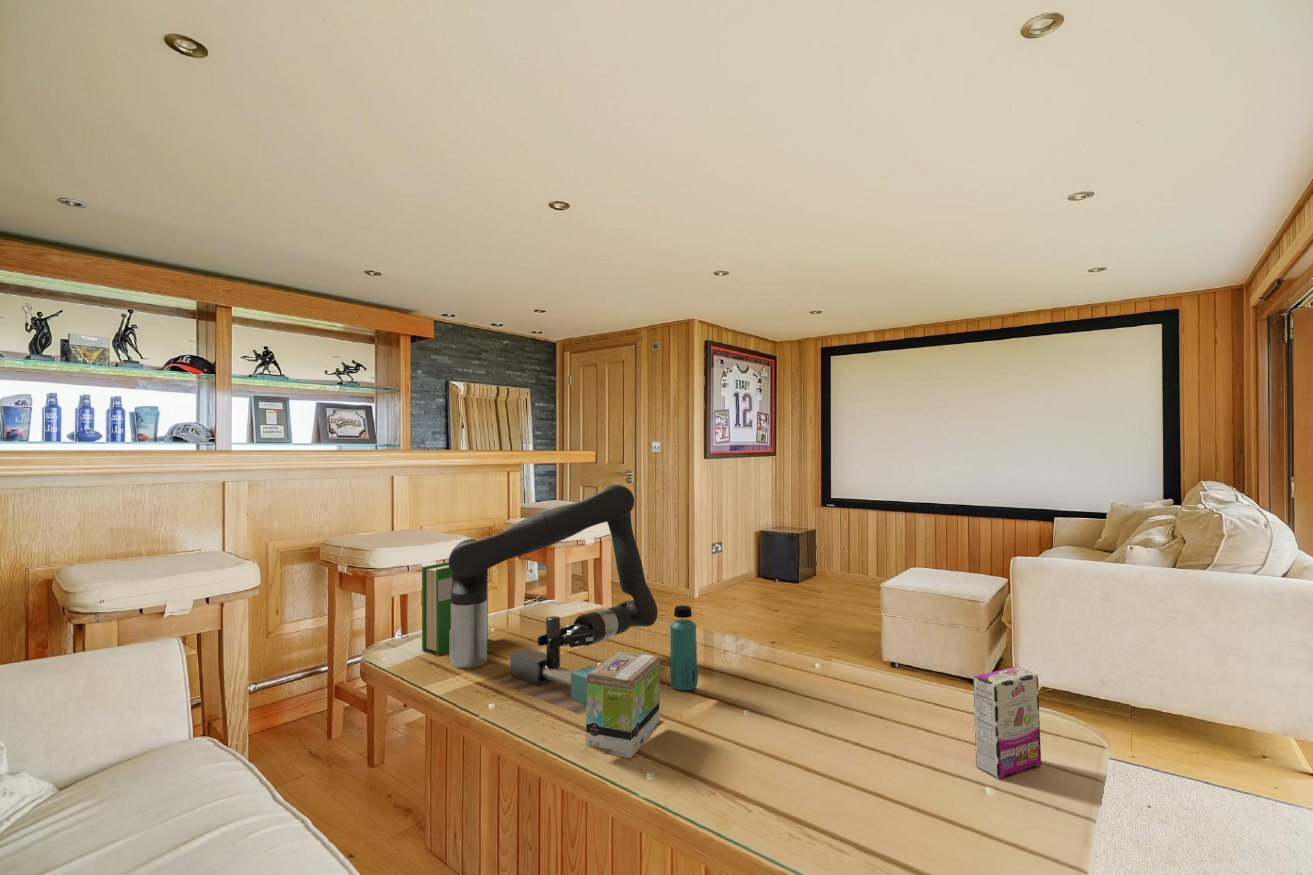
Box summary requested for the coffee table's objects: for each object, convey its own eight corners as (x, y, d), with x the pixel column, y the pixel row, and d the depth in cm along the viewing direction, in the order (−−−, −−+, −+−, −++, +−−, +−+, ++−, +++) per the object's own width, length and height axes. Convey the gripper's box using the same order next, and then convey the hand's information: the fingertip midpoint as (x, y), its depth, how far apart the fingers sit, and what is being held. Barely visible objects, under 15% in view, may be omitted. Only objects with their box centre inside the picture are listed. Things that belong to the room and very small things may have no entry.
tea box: (633, 760, 115) (632, 679, 115) (584, 751, 118) (584, 673, 118) (661, 726, 129) (660, 654, 129) (616, 719, 132) (616, 649, 132)
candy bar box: (1016, 754, 116) (1014, 665, 116) (1042, 766, 111) (1040, 674, 111) (973, 767, 111) (971, 674, 111) (998, 780, 107) (996, 684, 107)
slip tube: (515, 670, 154) (514, 611, 155) (526, 666, 157) (525, 608, 157) (570, 690, 141) (570, 625, 142) (581, 686, 144) (581, 622, 144)
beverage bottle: (696, 698, 143) (695, 610, 143) (667, 696, 144) (666, 609, 144) (699, 687, 149) (698, 603, 149) (672, 685, 150) (671, 602, 151)
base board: (494, 686, 151) (494, 681, 151) (539, 670, 162) (539, 665, 162) (579, 719, 132) (579, 714, 132) (624, 699, 142) (624, 693, 142)
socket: (571, 699, 139) (571, 673, 139) (590, 691, 144) (590, 665, 144) (591, 707, 135) (591, 679, 135) (611, 698, 140) (610, 672, 140)
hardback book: (438, 655, 174) (438, 569, 174) (422, 651, 178) (422, 566, 178) (487, 639, 188) (487, 559, 189) (471, 635, 193) (471, 557, 193)
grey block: (510, 676, 154) (510, 653, 154) (527, 670, 158) (527, 647, 158) (537, 686, 147) (537, 662, 147) (555, 680, 151) (555, 656, 151)
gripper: (577, 607, 163) (524, 621, 150) (616, 616, 154) (563, 632, 141) (577, 636, 163) (524, 653, 150) (616, 646, 154) (563, 665, 141)
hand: (544, 643), depth 146 cm, fingers closed on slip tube, 3 cm apart
